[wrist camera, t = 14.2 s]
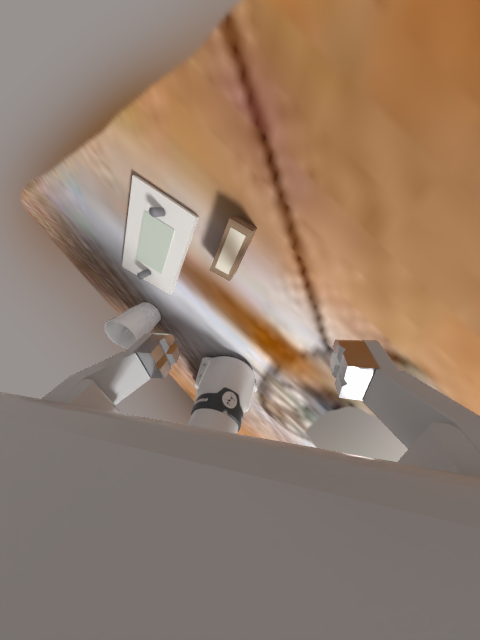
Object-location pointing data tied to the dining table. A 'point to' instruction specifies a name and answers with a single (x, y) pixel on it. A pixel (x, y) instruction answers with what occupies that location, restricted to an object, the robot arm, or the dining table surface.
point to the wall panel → (156, 235)
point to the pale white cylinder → (132, 324)
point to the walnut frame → (232, 247)
